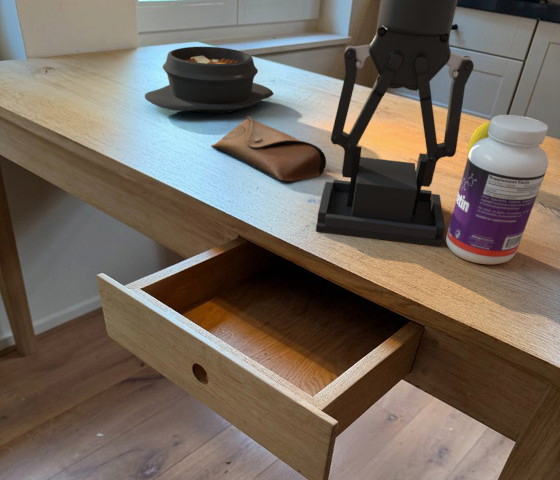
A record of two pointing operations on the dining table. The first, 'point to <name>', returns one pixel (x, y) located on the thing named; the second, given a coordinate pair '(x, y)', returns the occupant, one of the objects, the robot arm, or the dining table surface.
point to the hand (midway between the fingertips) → (380, 206)
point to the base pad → (421, 229)
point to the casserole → (209, 81)
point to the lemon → (479, 135)
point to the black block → (385, 190)
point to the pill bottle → (498, 190)
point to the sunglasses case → (273, 151)
